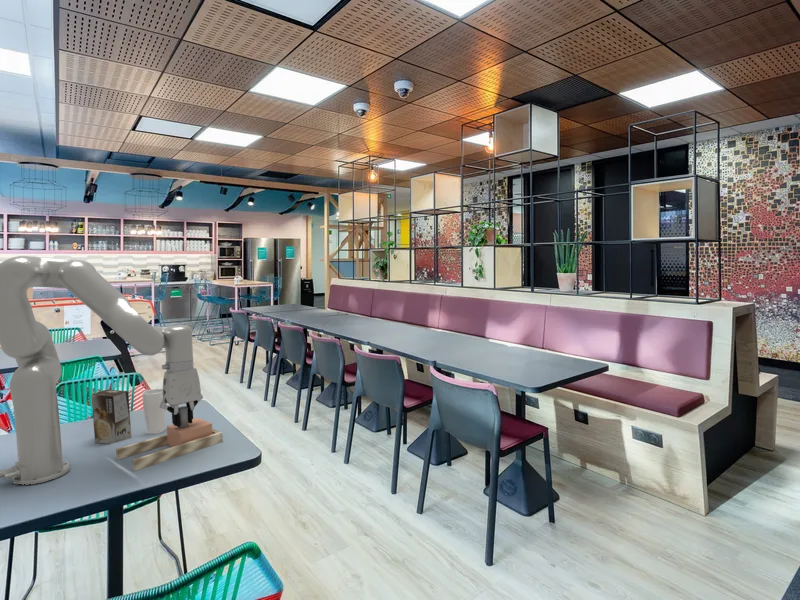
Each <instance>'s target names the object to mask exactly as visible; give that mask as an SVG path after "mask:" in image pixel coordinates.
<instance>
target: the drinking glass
mask: <svg viewBox="0 0 800 600" xmlns="http://www.w3.org/2000/svg"><path fill="white" fill-rule="evenodd" d="M162 399H163V388H151V389H150V388H149V389H146V390H143V392H142V407H143V413H144V420H145V426H146V434H148V435H156V434H160V433H163V432H165V431H166V427H165V425H166V424H165V423H166V422H165V421H166V410H165V409H161V408H159V406H160V404H161V401H162Z"/></svg>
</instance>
